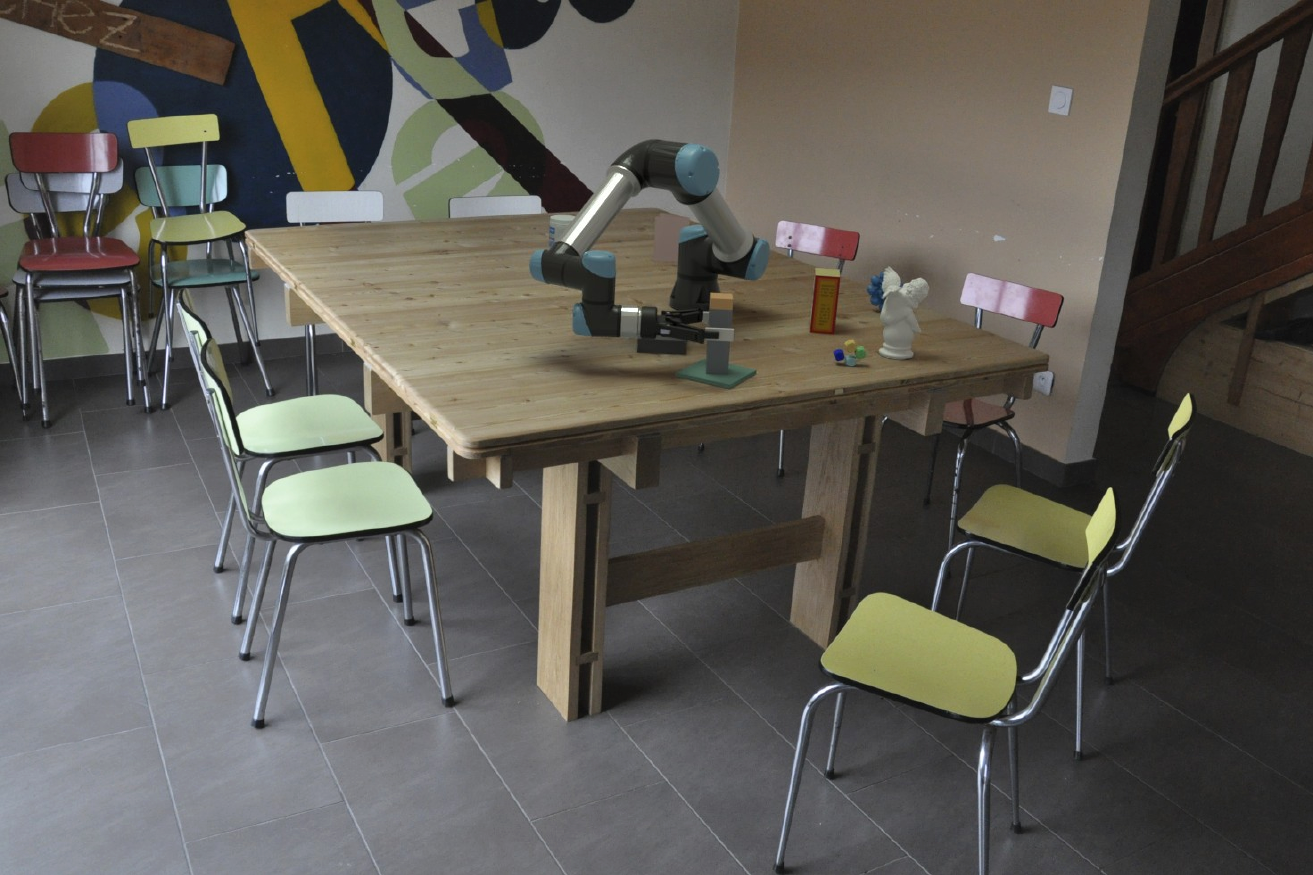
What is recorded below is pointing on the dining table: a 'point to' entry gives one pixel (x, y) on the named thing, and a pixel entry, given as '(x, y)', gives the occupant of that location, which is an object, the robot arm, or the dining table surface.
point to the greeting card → (668, 236)
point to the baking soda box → (824, 300)
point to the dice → (850, 347)
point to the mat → (726, 381)
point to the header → (661, 345)
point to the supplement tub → (558, 227)
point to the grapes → (877, 290)
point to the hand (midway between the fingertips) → (732, 326)
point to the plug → (719, 319)
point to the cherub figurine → (900, 314)
